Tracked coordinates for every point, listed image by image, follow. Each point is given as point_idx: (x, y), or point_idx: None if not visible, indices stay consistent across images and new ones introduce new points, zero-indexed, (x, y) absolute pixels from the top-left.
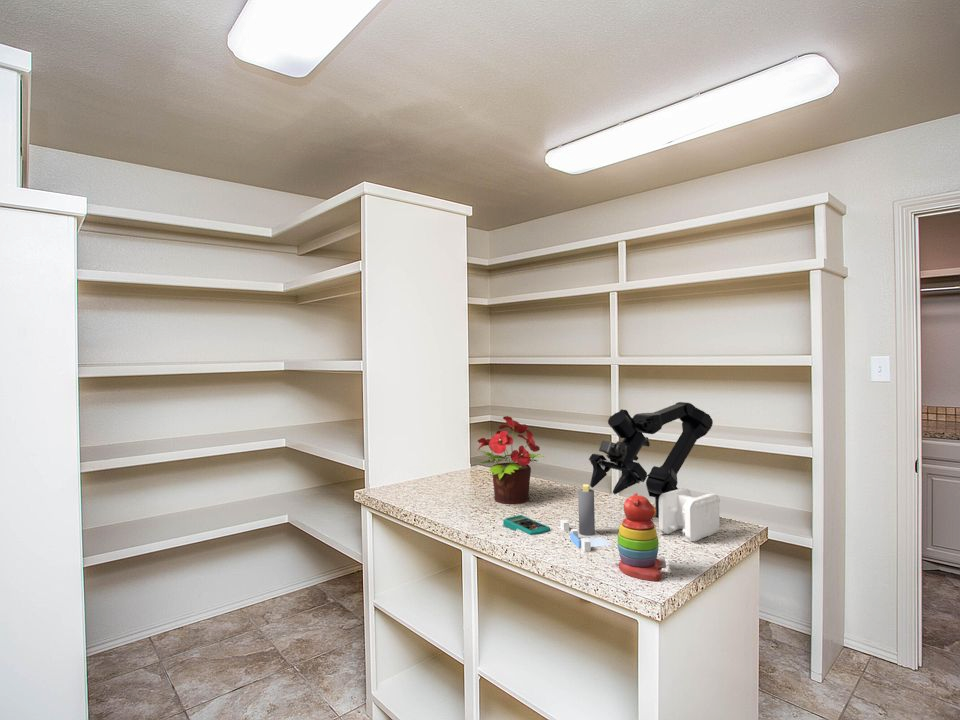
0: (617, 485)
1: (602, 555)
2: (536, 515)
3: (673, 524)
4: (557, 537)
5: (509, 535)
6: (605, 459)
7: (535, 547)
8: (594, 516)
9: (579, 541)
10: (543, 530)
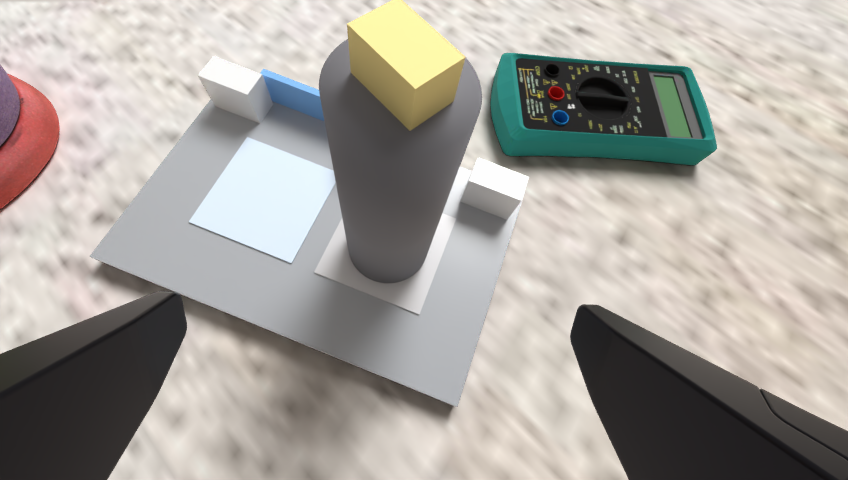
0: (52, 336)
1: None
2: (766, 271)
3: None
4: None
5: (565, 45)
6: None
7: None
8: (350, 232)
9: (263, 76)
10: (500, 99)
